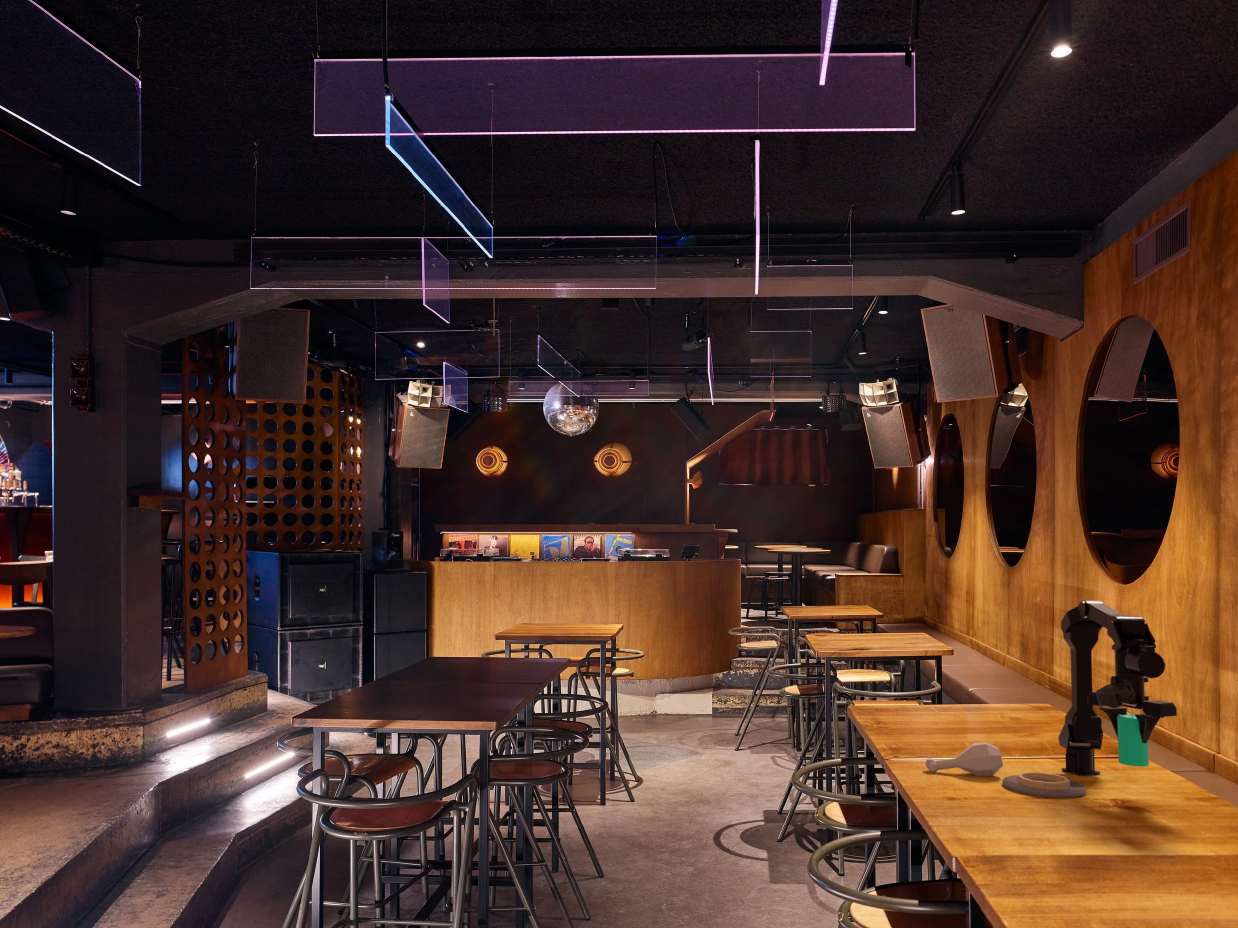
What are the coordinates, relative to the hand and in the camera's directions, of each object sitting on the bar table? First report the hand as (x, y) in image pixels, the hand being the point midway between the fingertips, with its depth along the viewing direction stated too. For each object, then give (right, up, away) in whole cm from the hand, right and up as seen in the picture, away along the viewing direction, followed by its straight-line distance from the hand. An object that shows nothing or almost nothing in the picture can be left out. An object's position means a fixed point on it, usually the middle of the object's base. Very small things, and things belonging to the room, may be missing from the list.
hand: (1131, 742), depth 212 cm
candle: (0, -5, -1) cm, 5 cm away
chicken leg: (-29, -15, +23) cm, 40 cm away
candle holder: (-15, -14, +10) cm, 23 cm away
